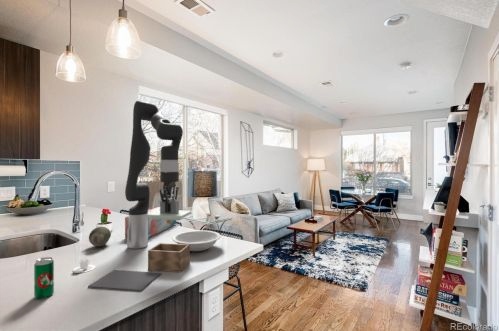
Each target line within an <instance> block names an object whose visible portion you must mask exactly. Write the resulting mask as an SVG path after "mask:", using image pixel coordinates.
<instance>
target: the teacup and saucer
mask: <svg viewBox="0 0 499 331" xmlns="http://www.w3.org/2000/svg"><path fill="white" fill-rule="evenodd" d="M90 261H91V260H90V258H82V259H79V266H77V267H75V268H74V269H73V270H72V273H74V274H81V273H87V272H90V271H93V270H94V269H95V268H96V265H94V264H90ZM88 267H91V268H90V269H88ZM87 269H88V270H87ZM84 270H85V271H84Z"/></svg>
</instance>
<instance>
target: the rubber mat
mask: <svg viewBox="0 0 499 331" xmlns="http://www.w3.org/2000/svg"><path fill="white" fill-rule="evenodd" d="M161 274H162V273H161V272H159V271H158V272H156V271H155V272H152V271H139V270H138V271H137V270H125V269H124V270H122V269H121V270H120V269H113V270H111V271H109V272H108V273H107V274H105V275H103V276H101V277H100V278H98V279H97V280H95V281H93V282H92V283H90V284H89V285H88V286H87V288H88V289H89V288H90V289H101V290H114V291H115V290H116V291H128V292H129V291H130V292H139V293H140V292H142V291H144V290H145V289H146V288H147V287H148V286H149V285H150V284H151V283H152V282H154V281H155V280H156V279H157V278H159V277H160V276H161Z"/></svg>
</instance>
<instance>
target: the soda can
mask: <svg viewBox="0 0 499 331" xmlns="http://www.w3.org/2000/svg"><path fill="white" fill-rule="evenodd" d="M33 272H34V273H33V282H34V284H33V285H34V286H33V287H34V289H33V294H34V295H33V297H34V298H35V299H37V300H42V299H43V300H44V299H47V298H49V297H50V296H53V294H54V293H55V292H54V291H55V260H54V259H53V257H52V256H51V257H50V256H47V257H40V258H38V259H36V260H35V263H34V265H33Z"/></svg>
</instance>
